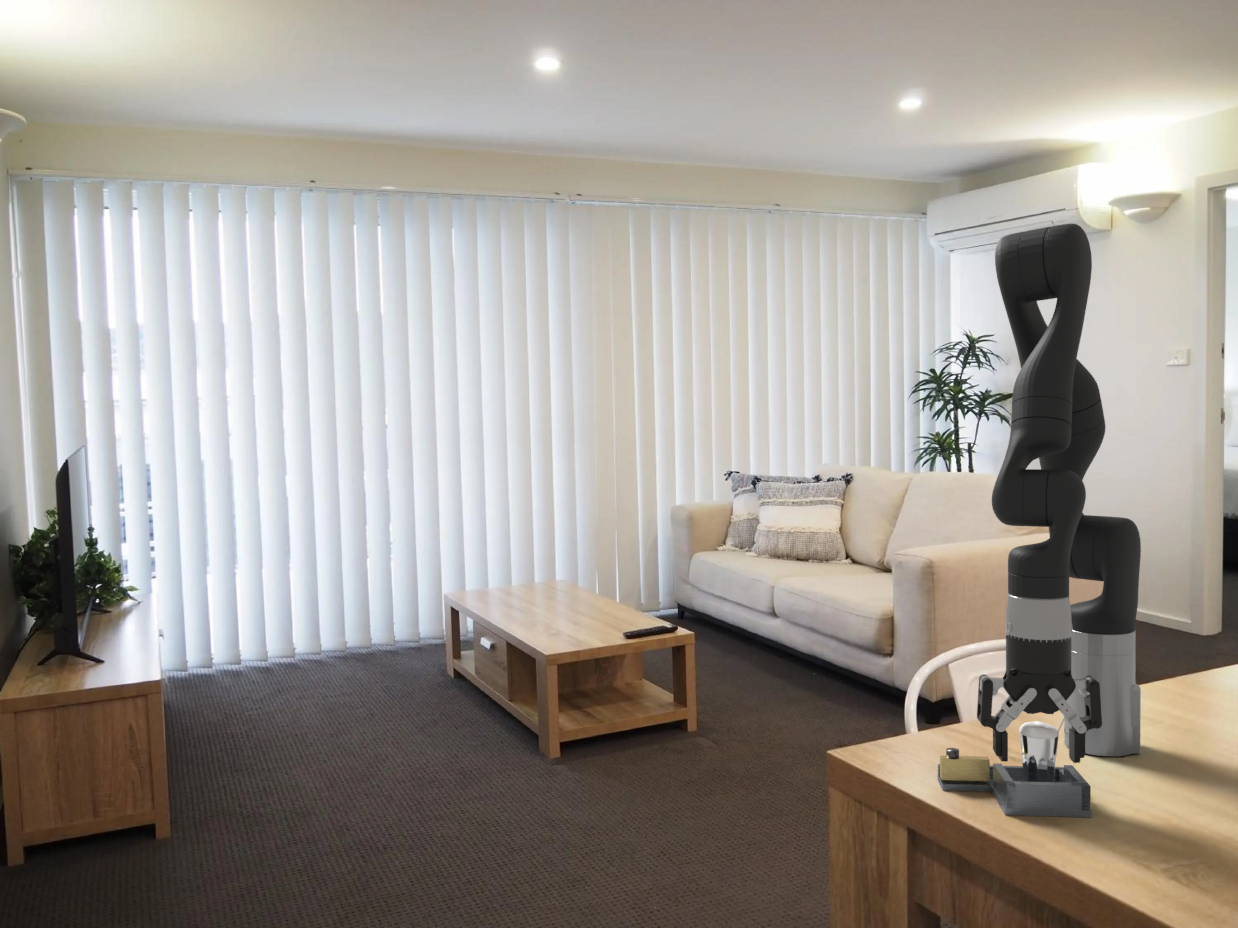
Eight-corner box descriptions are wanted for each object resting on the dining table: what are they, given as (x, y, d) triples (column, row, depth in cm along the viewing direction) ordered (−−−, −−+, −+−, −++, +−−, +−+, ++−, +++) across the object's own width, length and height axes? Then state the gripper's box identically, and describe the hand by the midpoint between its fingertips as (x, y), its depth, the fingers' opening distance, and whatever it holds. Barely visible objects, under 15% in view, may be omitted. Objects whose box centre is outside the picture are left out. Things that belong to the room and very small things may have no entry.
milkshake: (1069, 802, 127) (1069, 722, 126) (1023, 801, 128) (1023, 720, 127) (1060, 789, 131) (1060, 711, 131) (1016, 787, 132) (1015, 710, 132)
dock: (1064, 782, 136) (1064, 754, 135) (1092, 817, 124) (1092, 785, 124) (937, 779, 138) (937, 751, 138) (953, 813, 126) (953, 782, 126)
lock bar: (987, 777, 135) (987, 748, 135) (990, 781, 134) (990, 752, 133) (939, 775, 136) (939, 747, 136) (941, 780, 134) (941, 751, 134)
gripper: (1089, 624, 131) (1089, 751, 132) (972, 624, 133) (972, 748, 134) (1109, 637, 124) (1108, 772, 124) (985, 637, 125) (985, 769, 126)
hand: (1038, 759), depth 129 cm, fingers open, 8 cm apart
